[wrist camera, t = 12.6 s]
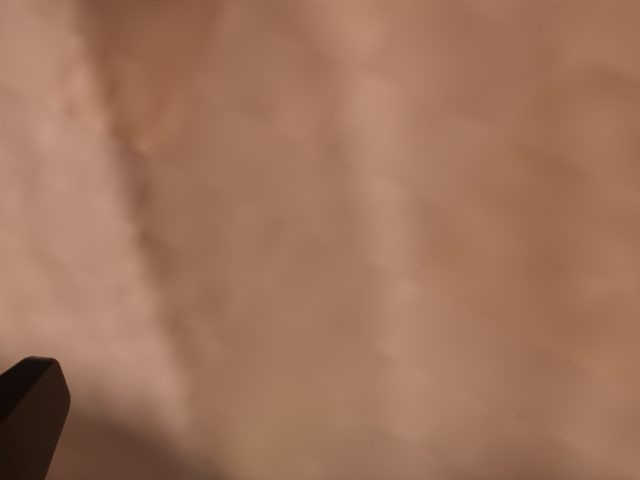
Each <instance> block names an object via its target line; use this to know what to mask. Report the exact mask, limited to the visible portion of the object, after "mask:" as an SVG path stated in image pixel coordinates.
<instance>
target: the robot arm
mask: <svg viewBox="0 0 640 480" xmlns="http://www.w3.org/2000/svg"><path fill="white" fill-rule="evenodd" d="M70 401H71V399H70V392H69V389H68V387H67V384H66V381H65V378H64V375H63V372H62V369H61V366H60V364H59V362H58V361H57V360H56V359H54V358H47V357H37V356H30V357H27V358H25V359H23V360H21V361H20V362H18V363H17V364H15V365H14V366H12V367H11V368H9V369H8V370H7V371H5V372H4V373H2V374H1V375H0V480H45V477H46V475H47V472H48V469H49V466H50V463H51V460H52V457H53V455H54V452H55V449H56V446H57V443H58V440H59V438H60V435H61V432H62V429H63V426H64V423H65V420H66V418H67V415H68V412H69V408H70Z"/></svg>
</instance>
